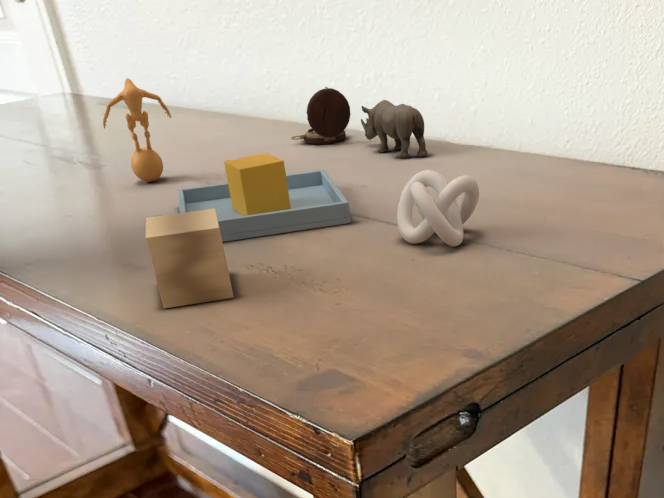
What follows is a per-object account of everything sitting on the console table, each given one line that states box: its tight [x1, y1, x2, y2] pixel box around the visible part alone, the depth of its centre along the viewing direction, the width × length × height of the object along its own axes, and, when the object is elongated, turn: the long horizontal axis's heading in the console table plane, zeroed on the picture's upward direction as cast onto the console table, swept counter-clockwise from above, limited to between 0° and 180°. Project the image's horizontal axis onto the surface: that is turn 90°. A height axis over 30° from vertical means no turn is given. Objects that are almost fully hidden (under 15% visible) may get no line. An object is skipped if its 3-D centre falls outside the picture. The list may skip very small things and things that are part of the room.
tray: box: [177, 169, 352, 243], centre depth 89 cm, size 17×15×2 cm
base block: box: [145, 208, 235, 309], centre depth 70 cm, size 6×6×6 cm
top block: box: [223, 152, 291, 216], centre depth 88 cm, size 5×5×5 cm
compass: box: [290, 86, 351, 145], centre depth 115 cm, size 8×8×7 cm
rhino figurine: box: [360, 99, 429, 159], centre depth 108 cm, size 4×14×6 cm, turn 35°
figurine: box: [102, 77, 172, 183], centre depth 101 cm, size 8×6×12 cm
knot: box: [396, 169, 480, 247], centre depth 77 cm, size 8×8×6 cm
